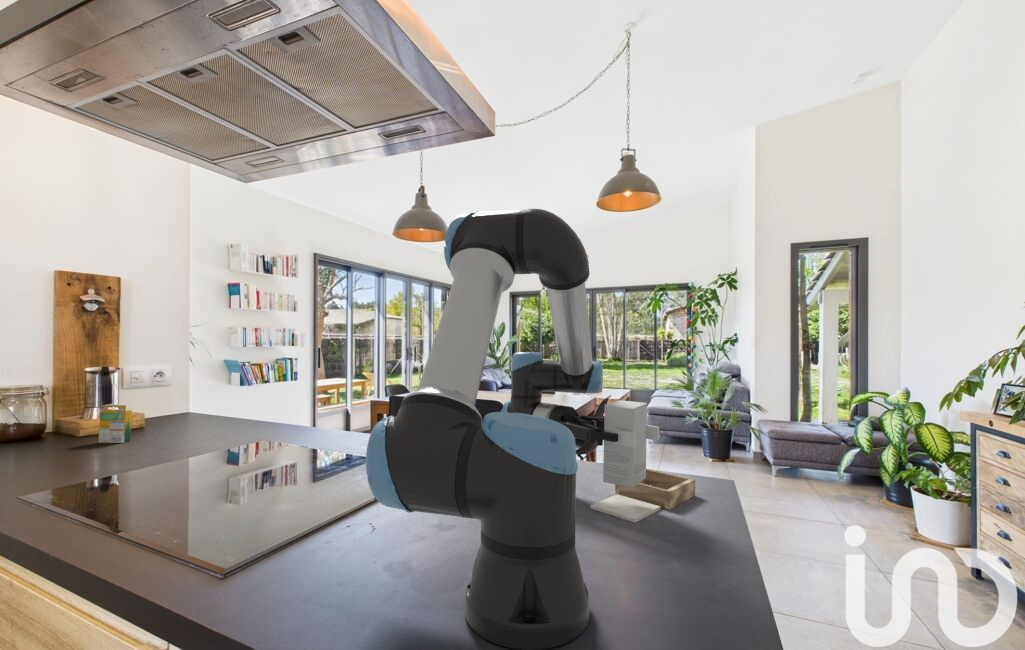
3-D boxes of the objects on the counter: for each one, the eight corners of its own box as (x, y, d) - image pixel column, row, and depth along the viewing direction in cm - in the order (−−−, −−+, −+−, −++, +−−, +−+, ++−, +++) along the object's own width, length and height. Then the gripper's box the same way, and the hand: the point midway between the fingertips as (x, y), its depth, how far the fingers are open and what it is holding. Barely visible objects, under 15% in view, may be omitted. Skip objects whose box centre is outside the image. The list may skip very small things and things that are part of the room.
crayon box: (130, 441, 143) (132, 404, 144) (123, 443, 141) (125, 405, 141) (105, 441, 143) (107, 404, 143) (97, 443, 140) (100, 405, 140)
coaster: (635, 522, 84) (635, 519, 84) (590, 508, 91) (590, 505, 91) (660, 509, 91) (660, 506, 91) (617, 497, 98) (617, 494, 98)
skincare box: (618, 473, 97) (619, 399, 98) (648, 478, 93) (649, 402, 94) (601, 482, 90) (602, 403, 91) (633, 489, 86) (634, 406, 87)
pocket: (669, 509, 91) (669, 491, 91) (615, 494, 100) (615, 478, 100) (695, 495, 100) (695, 479, 100) (643, 482, 109) (643, 468, 109)
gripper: (583, 431, 112) (671, 447, 96) (524, 444, 97) (617, 466, 81) (584, 401, 112) (671, 412, 97) (525, 409, 97) (617, 423, 81)
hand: (646, 436), depth 89 cm, fingers closed on skincare box, 9 cm apart
